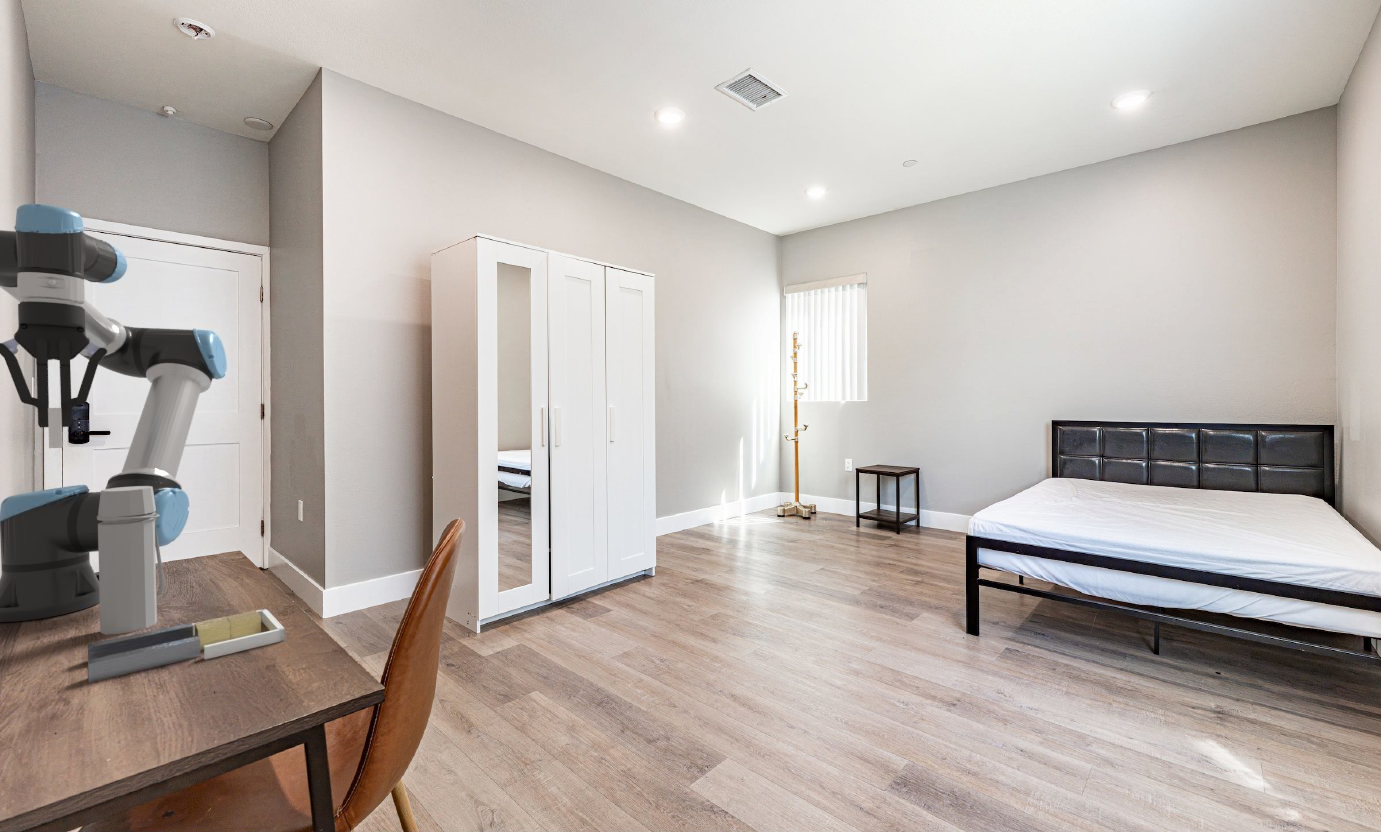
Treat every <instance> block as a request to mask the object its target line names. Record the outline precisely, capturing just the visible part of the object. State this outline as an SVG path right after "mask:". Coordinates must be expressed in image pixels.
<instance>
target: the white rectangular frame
mask: <svg viewBox="0 0 1381 832" xmlns="http://www.w3.org/2000/svg"><path fill="white" fill-rule="evenodd" d="M255 611H257V613H258V614H259V615H260V616H261V623H263V625H265V627H266V628H267V629H268V631H263V632H261V633H258V634H254V635H249V636H245V637H241V638H236V639H232V640H227V641H223V642H219V643H214V644H210V645H205V646H204V650H203V658H204V660H209V659H214V658H217V657H221V656H226V655H230V654H234V653H239V652H242V651H246V650H247V651H248V650H250V649H254V648H255V649H256V648H260V647H264V646H267V645H271V644H275V643H279V642H280V643H281V642H284V641H286V628H285V627H284V626H283V625H282V624H281V622H279V621H278V620H277V618H276V617H275V616H274V615H273V614H272V613H271V612H270V611H269V610H268V608H262V609H257V610H255ZM250 612H252V610H251V611H250ZM228 616H229V615H228ZM228 616H226V617H228ZM223 617H224V616H222V617H221V618H223ZM219 618H220V617H219ZM219 618H218V617H217V618H216V619H219ZM214 619H215V618H212V619H211V620H214ZM209 620H210V619H207V620H206V621H209ZM204 621H205V620H204ZM204 621H202V622H204ZM199 622H200V621H198V622H197V623H199ZM195 623H196V622H194V623H192V625H193V637H195Z"/></svg>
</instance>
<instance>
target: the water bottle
mask: <svg viewBox="0 0 1381 832" xmlns="http://www.w3.org/2000/svg"><path fill="white" fill-rule="evenodd" d="M100 492H101V494H100V503H99V512H98V516H97V520H101V521H103V522H101V523H99V524H98V550H99V551H98V581H99V592H100V602H99V623H100V625H99V627H100V628H99V629H100V631H99V632H100V633H101V634H103V635H107V636H108V635H120V634H128V633H133V632H134V633H135V632H137V631H141V630H144V629H147V628H149V627H151V626H153V625H154V626H155V625H156V623H157V622H158V613H157V612H158V607H157V603H158V602H157V598H159V597H162V596H163V595H164V590H165V577H164V571H163V569H164V568H163V562H162V558H161V549H160V547H159V543H158V536H157V530H156V523H155V522H156V520H157V517H159V516H160V515H159V514H158V513H155V511H156V506H155V500H154V493H153V487H151V486H133V487H119V488H110V489H102V490H100ZM156 562H157V564H156ZM156 566H157V568H158V573H159V574H158V575H159V591H158V594H157V568H156Z"/></svg>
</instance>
